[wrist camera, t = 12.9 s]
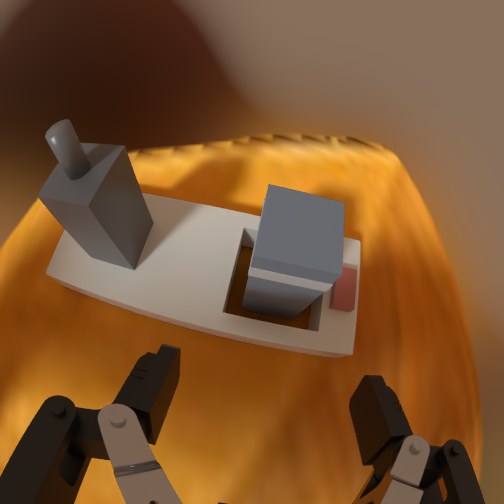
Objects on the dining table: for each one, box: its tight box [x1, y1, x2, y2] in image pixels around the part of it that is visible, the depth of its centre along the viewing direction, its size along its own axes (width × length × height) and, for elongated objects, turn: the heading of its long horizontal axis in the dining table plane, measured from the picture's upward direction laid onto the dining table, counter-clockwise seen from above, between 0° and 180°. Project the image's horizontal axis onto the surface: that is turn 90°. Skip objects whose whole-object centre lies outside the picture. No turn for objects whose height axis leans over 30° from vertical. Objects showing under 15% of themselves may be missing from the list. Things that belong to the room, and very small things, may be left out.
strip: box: [38, 119, 360, 358], centre depth 15 cm, size 24×9×14 cm, turn 78°
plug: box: [241, 184, 345, 320], centre depth 17 cm, size 4×4×10 cm
